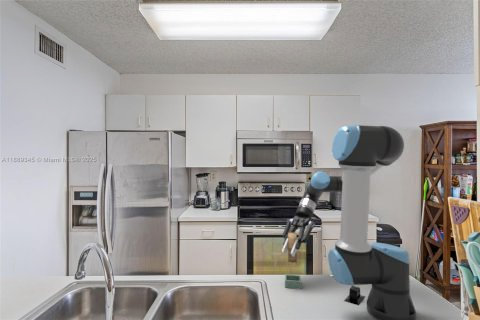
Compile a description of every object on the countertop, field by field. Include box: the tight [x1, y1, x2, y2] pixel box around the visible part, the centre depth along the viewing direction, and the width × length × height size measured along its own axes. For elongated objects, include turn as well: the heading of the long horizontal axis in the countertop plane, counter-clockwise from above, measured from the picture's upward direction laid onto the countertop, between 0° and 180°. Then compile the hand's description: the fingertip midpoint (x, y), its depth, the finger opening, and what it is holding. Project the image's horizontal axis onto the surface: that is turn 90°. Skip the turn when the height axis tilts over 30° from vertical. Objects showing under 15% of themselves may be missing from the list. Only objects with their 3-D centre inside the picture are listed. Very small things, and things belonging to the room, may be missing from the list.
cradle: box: [284, 274, 302, 290], centre depth 118 cm, size 7×7×3 cm
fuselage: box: [287, 232, 298, 264], centre depth 119 cm, size 4×4×12 cm
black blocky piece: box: [343, 285, 366, 306], centre depth 106 cm, size 12×7×5 cm, turn 141°
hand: (287, 253), depth 116 cm, fingers closed on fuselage, 3 cm apart
